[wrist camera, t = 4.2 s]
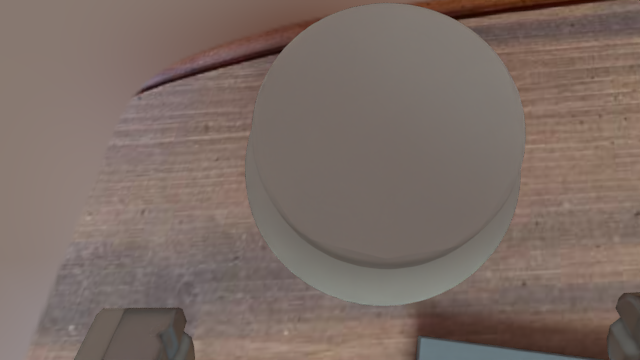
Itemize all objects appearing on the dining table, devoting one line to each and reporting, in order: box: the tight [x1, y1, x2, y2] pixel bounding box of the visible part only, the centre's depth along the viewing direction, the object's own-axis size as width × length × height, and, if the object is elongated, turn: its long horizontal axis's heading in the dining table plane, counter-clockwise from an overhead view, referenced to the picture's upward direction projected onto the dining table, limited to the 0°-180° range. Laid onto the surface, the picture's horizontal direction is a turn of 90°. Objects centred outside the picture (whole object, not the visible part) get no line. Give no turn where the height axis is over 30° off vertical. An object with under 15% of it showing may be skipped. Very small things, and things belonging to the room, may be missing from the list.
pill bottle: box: [245, 3, 526, 306], centre depth 15 cm, size 6×6×11 cm
